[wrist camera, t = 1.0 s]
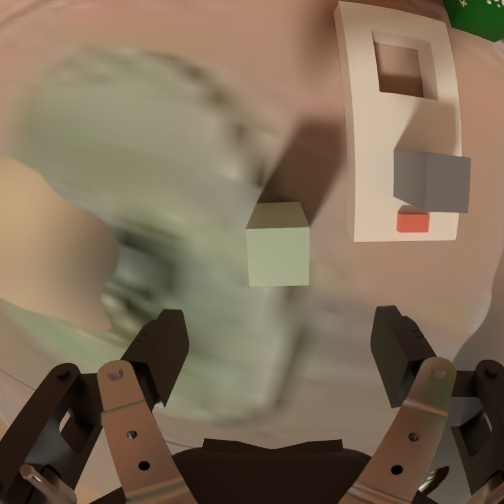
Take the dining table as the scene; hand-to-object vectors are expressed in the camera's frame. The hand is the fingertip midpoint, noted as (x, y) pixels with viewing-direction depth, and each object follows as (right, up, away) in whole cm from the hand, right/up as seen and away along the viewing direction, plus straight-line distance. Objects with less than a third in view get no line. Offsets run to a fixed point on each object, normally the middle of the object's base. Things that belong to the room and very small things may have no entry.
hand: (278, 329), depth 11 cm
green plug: (+1, +6, +16) cm, 17 cm away
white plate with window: (+13, +15, +11) cm, 23 cm away
